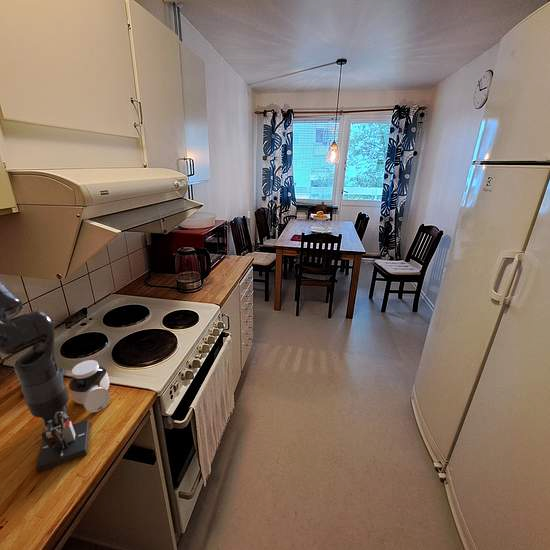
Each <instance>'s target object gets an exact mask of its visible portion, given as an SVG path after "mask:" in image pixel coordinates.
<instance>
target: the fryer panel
mask: <svg viewBox="0 0 550 550" xmlns="http://www.w3.org/2000/svg"><path fill="white" fill-rule="evenodd" d="M72 426H73V428H74V431H75V440H74V441H71V442H68V443H67V445H68V447H67V449H66V450H63V451H60V452H57V451H56V448H55V447H53V448H52V447H51V448H49V446H48V445H47V444H46V442H45V441H44V439H43V438H42V442H41V446H40V449H39V454H38V458H37V461H36V465H35V469H36V470H37V472H38V473H42V472H43V471H47V470H49V469H51V468H54V467H58V466H60V465H63V464H65V463H69V462H71V461H74V460H77V459H79V458H82V457H85V456H86V455H88V448H89V437H90V428H91V427H90V426H91V424H90V421H89V419H85V420H82V421H79V422H76V423H72Z"/></svg>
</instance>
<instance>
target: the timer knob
mask: <svg viewBox="0 0 550 550" xmlns="http://www.w3.org/2000/svg"><path fill="white" fill-rule="evenodd" d="M72 424H73V423H72V420H68V421H67V422H65V423H64V425H65V428H64V430H63V432H64V436H65V439H66V442H67V443H68V442H71V441H74V440H75V431H74V428H73V426H72ZM58 427H61V426H60V425H59V426H58ZM58 427H54V429H55V428H58ZM58 433H59V432H58ZM59 434H60V433H59ZM54 447H55V446H54ZM52 448H53V447H52Z"/></svg>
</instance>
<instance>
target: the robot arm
mask: <svg viewBox="0 0 550 550" xmlns="http://www.w3.org/2000/svg"><path fill="white" fill-rule="evenodd" d="M23 307H24V305H23V302H22V300H21V299H20V297H19V296H18V295H17V294H16V293H15V292H14V291H13V290H12V289H11V288H10V287H9V286H8V284H7V283H5V282H4V280H3V279H2V278H1V277H0V355H4V356H12V355H15V354H18V353H19V352H22V351H25V350H26V349H27V350H26V351H25V352H23V353H22V354H21V355H19V356H18V357H17V358H16V359H15V360H14V363H13V369H14V372H15V374H16V376H17V379H18V382H19V384H20V387H21V391H22V393H23V395H24V396H23V397H24V400H25V402H26V405H27V407H28V409H29V412H30V414H31V415H32V416H33V417H35V418H41V422H42V425H43V426H44V429H45V431H44V432H42V433H41V438H42V440H43V439H44V441H45V442H46V444H47V445H48V446H49V448H51V447H54V446H55V448H56V451H57V452H60V451H63V450H66V449H67V447H68V445H67V442H66V439H65V436H64V432H63V430H64V428H65V425H64V423H65V422H67V421H69V416H68V413H69V409H68V402H69V400H70V395H69V392H68V389H67V386H66V384H65V381H64V376H63V377H62V375H61V373H60V371H59V370H58V369H59V366H58V364H57V361H56V358H55V335H56V333H55V331H56V330H55V324H54V320H53V319H52V317H51V315H50V314H49V313H47V312H45V311H43V310H39V309H38V310H32V311H29V312H26V313H23V314H21V315H19V314H20V313H21V311H22V310H23ZM59 425H60V426H61V427H58V426H59ZM54 427H58V428H55V429H54ZM58 432H59V433H60V434H59V433H58Z"/></svg>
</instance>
